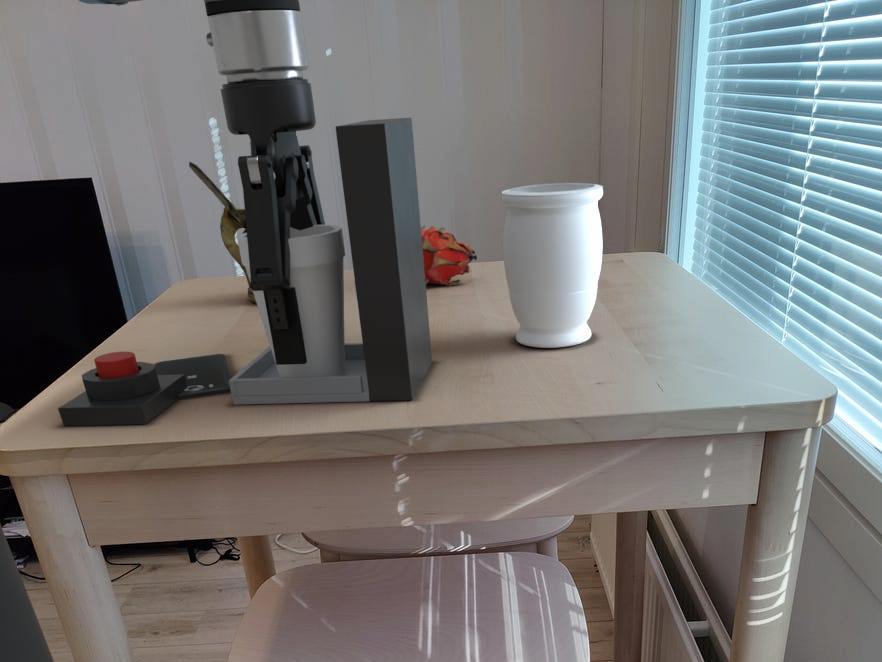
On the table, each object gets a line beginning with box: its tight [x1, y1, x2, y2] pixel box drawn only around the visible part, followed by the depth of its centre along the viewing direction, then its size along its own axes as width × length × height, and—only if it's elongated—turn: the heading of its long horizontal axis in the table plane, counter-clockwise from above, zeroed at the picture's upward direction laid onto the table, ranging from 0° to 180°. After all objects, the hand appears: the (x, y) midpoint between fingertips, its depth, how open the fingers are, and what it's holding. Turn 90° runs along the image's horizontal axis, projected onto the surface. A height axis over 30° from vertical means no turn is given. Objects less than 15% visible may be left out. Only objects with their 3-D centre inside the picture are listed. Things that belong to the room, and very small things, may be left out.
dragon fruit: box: [421, 224, 478, 287], centre depth 125 cm, size 8×8×12 cm
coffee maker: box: [229, 117, 433, 406], centre depth 80 cm, size 17×13×22 cm
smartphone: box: [154, 353, 232, 401], centre depth 90 cm, size 8×15×1 cm, turn 17°
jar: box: [501, 182, 604, 349], centre depth 91 cm, size 11×10×15 cm
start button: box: [93, 351, 139, 378], centre depth 80 cm, size 4×4×2 cm
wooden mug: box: [188, 161, 257, 305], centre depth 119 cm, size 9×14×18 cm, turn 111°
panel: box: [57, 361, 187, 427], centre depth 81 cm, size 8×10×4 cm
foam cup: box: [236, 224, 346, 378], centre depth 82 cm, size 10×9×13 cm
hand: (307, 348), depth 84 cm, fingers open, 10 cm apart
